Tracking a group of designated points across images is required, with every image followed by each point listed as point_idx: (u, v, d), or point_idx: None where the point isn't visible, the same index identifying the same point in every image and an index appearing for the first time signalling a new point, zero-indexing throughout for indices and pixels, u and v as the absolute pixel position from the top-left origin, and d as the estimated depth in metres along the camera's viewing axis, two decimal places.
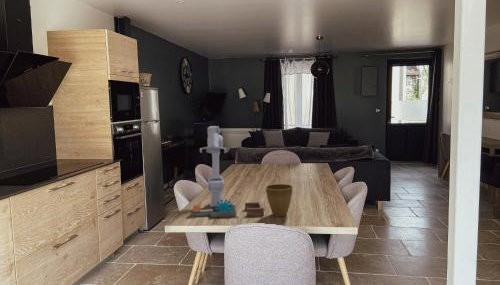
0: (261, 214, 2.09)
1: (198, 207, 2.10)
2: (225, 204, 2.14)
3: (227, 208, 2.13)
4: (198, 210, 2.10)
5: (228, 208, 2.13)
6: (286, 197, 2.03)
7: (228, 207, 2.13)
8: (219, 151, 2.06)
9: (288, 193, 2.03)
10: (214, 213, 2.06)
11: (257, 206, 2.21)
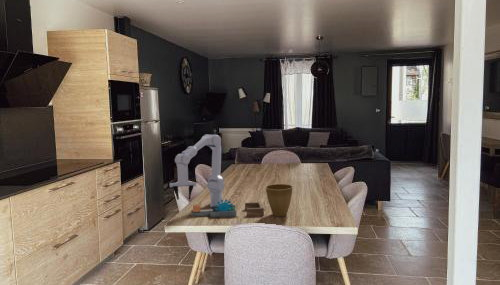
0: (261, 214, 2.09)
1: (198, 207, 2.10)
2: (225, 204, 2.14)
3: (227, 208, 2.13)
4: (198, 210, 2.10)
5: (228, 208, 2.13)
6: (286, 197, 2.03)
7: (228, 207, 2.13)
8: None
9: (288, 193, 2.03)
10: (214, 213, 2.06)
11: (257, 206, 2.21)
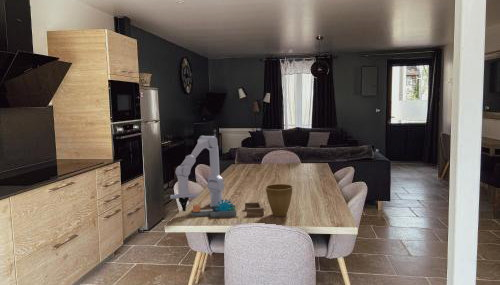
0: (261, 214, 2.09)
1: (198, 207, 2.10)
2: (225, 204, 2.14)
3: (227, 208, 2.13)
4: (198, 210, 2.10)
5: (228, 208, 2.13)
6: (286, 197, 2.03)
7: (228, 207, 2.13)
8: (189, 197, 2.11)
9: (288, 193, 2.03)
10: (214, 213, 2.06)
11: (257, 206, 2.21)
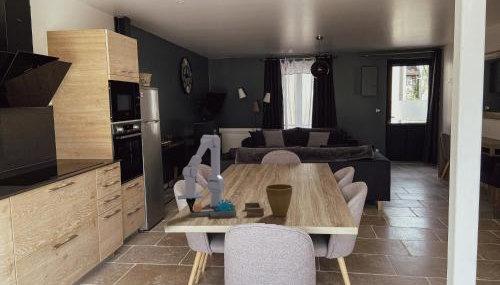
0: (261, 214, 2.09)
1: (199, 207, 2.10)
2: (225, 204, 2.15)
3: (227, 208, 2.13)
4: (199, 210, 2.10)
5: (228, 208, 2.13)
6: (286, 197, 2.03)
7: (228, 207, 2.13)
8: None
9: (288, 193, 2.03)
10: (214, 213, 2.06)
11: (257, 206, 2.21)
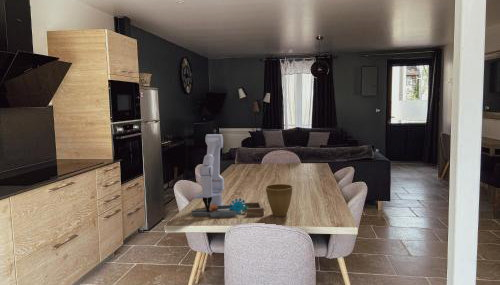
0: (261, 214, 2.09)
1: (215, 206, 2.11)
2: (239, 203, 2.15)
3: (241, 207, 2.13)
4: (215, 209, 2.11)
5: (242, 207, 2.13)
6: (286, 197, 2.03)
7: (242, 206, 2.13)
8: (213, 197, 2.12)
9: (288, 193, 2.03)
10: (214, 213, 2.06)
11: (257, 206, 2.21)
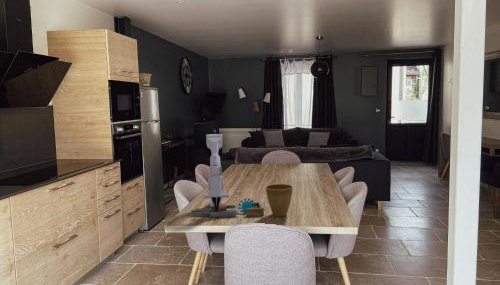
0: (261, 214, 2.09)
1: (224, 206, 2.11)
2: (248, 203, 2.15)
3: (249, 207, 2.13)
4: (224, 209, 2.12)
5: (250, 207, 2.13)
6: (286, 197, 2.03)
7: (250, 206, 2.14)
8: None
9: (288, 193, 2.03)
10: (214, 213, 2.06)
11: (257, 206, 2.21)
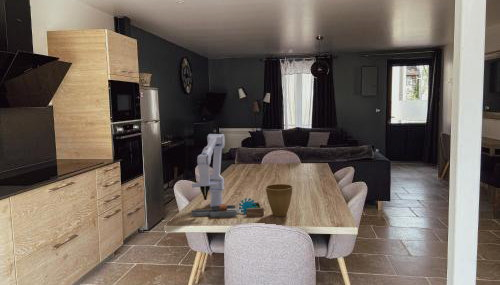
0: (261, 214, 2.09)
1: (225, 206, 2.11)
2: (248, 203, 2.15)
3: (250, 207, 2.13)
4: (225, 209, 2.12)
5: (251, 207, 2.13)
6: (286, 197, 2.03)
7: (251, 206, 2.14)
8: None
9: (288, 193, 2.03)
10: (214, 213, 2.06)
11: None
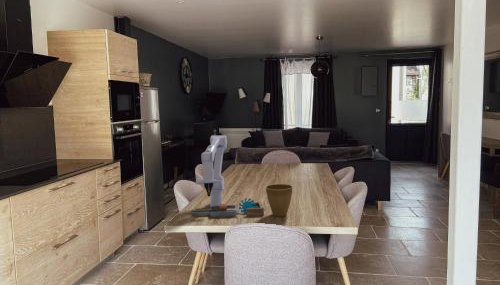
0: (261, 214, 2.09)
1: (225, 206, 2.11)
2: (248, 203, 2.15)
3: (250, 207, 2.13)
4: (225, 209, 2.12)
5: (251, 207, 2.13)
6: (286, 197, 2.03)
7: (251, 206, 2.14)
8: (214, 183, 2.17)
9: (288, 193, 2.03)
10: (214, 213, 2.06)
11: None
